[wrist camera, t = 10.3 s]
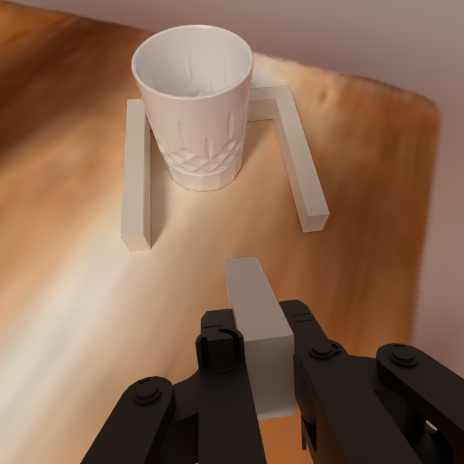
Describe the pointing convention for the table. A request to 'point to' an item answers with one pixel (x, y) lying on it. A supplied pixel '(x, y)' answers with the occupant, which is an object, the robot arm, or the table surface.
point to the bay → (260, 108)
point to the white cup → (196, 101)
